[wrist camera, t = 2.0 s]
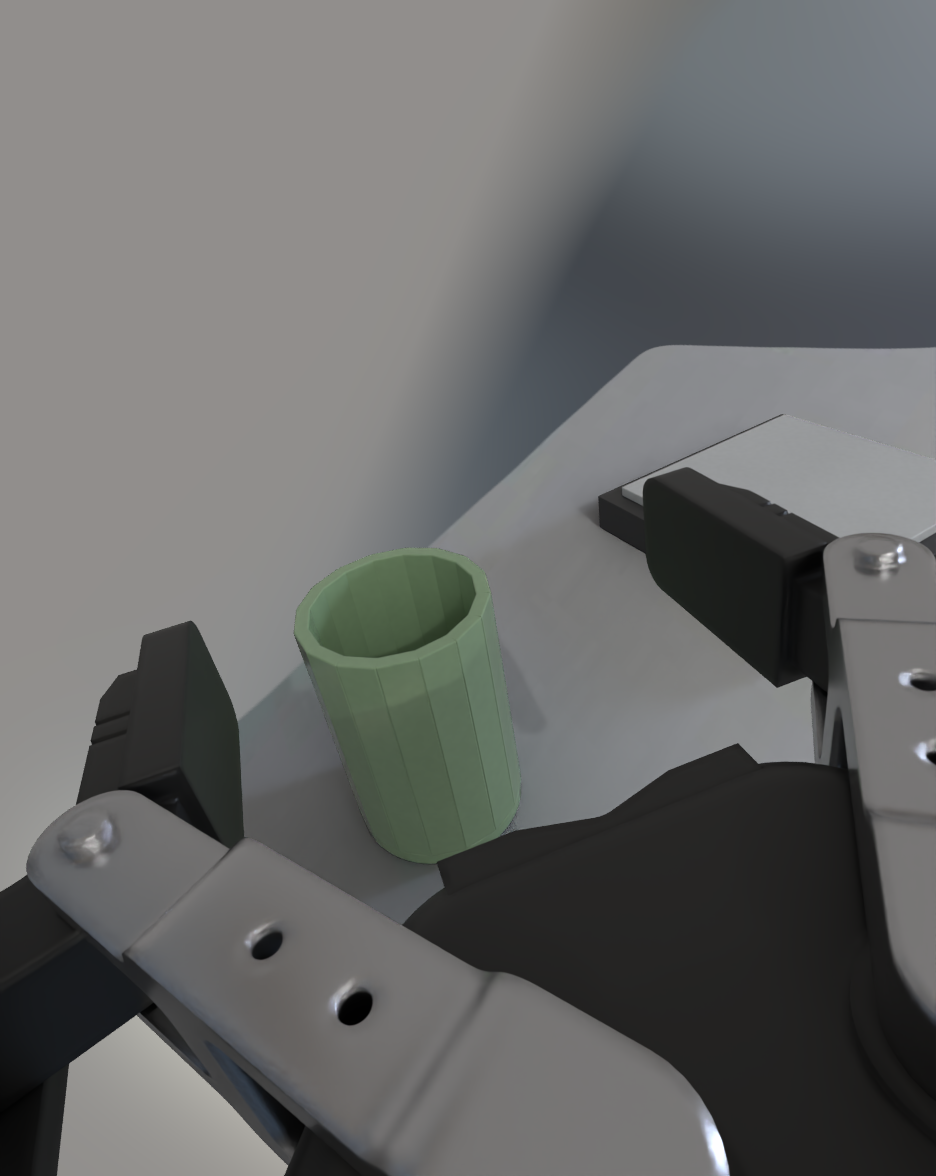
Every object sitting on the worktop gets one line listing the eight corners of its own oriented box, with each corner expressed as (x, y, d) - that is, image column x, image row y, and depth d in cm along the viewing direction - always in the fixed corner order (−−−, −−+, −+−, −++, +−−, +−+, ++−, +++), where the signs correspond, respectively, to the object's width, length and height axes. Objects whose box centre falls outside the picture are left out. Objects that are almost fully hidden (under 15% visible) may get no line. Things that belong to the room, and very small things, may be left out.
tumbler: (407, 897, 26) (337, 699, 20) (340, 781, 31) (269, 596, 25) (553, 806, 28) (528, 605, 22) (469, 712, 33) (431, 528, 27)
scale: (822, 655, 33) (831, 607, 31) (599, 526, 45) (597, 487, 43) (1026, 527, 38) (1042, 480, 36) (778, 443, 50) (782, 405, 48)
